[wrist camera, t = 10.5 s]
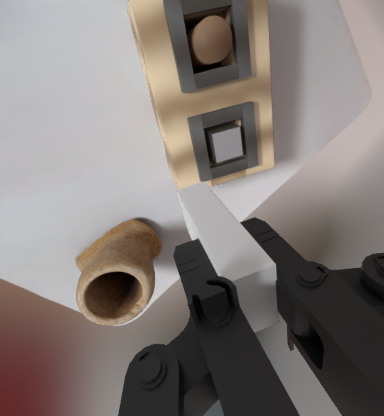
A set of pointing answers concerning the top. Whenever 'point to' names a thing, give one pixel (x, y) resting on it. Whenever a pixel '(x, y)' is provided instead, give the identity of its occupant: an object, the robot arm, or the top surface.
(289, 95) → the top surface
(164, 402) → the robot arm
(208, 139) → the metal pin
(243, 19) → the oak block
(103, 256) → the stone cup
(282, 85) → the top surface
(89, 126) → the top surface
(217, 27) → the walnut dowel
